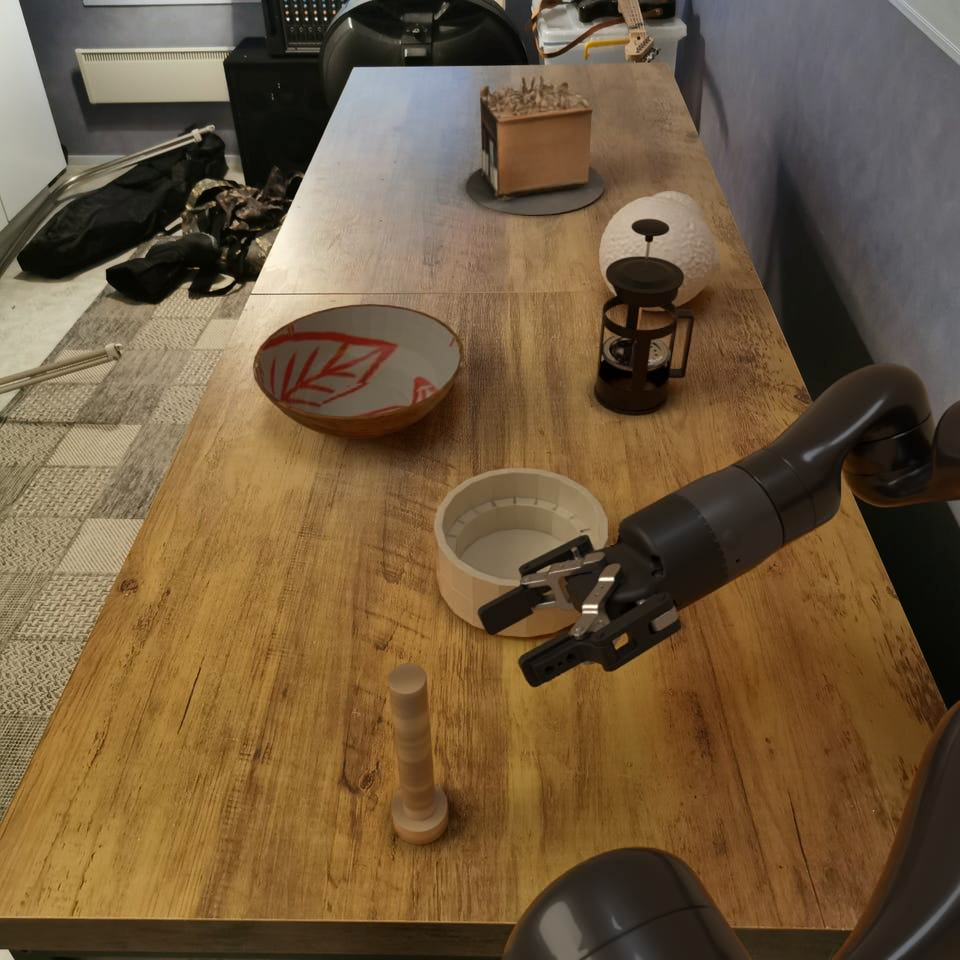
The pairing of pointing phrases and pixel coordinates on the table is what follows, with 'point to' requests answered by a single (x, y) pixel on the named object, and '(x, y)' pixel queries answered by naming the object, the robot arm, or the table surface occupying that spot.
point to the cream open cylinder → (509, 539)
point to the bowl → (359, 368)
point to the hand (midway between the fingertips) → (501, 647)
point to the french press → (635, 348)
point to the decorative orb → (665, 241)
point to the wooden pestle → (415, 759)
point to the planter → (535, 151)
